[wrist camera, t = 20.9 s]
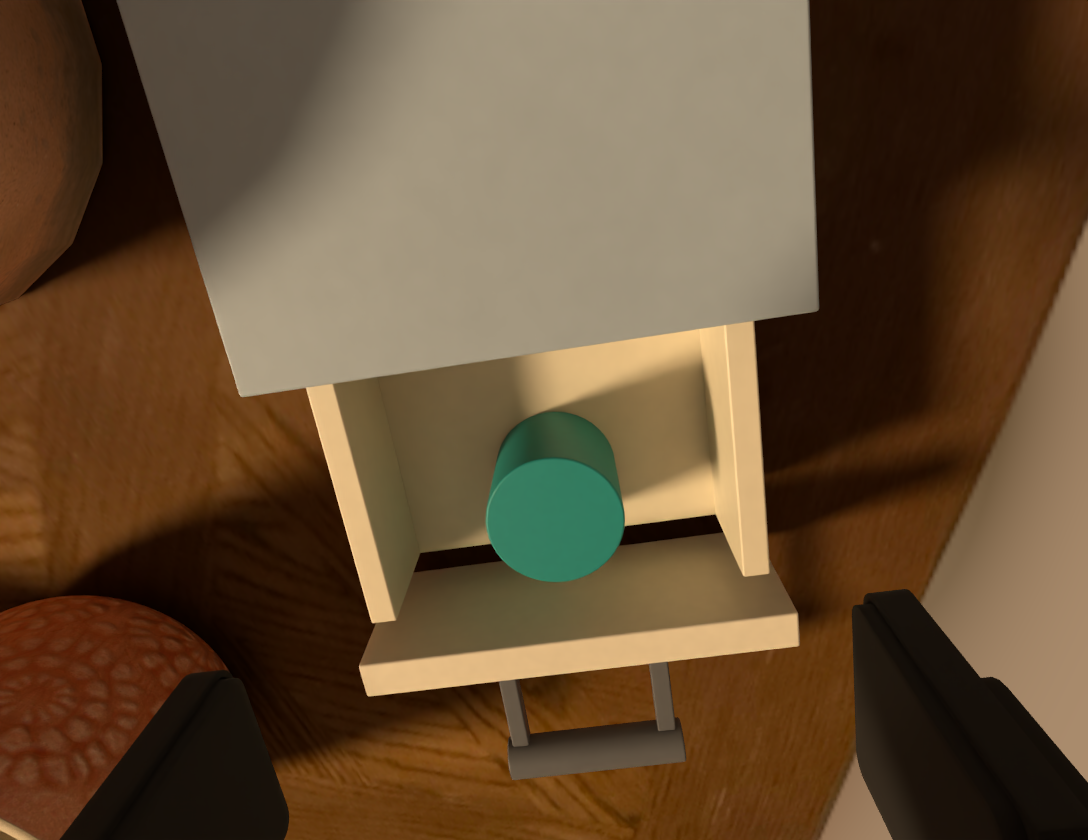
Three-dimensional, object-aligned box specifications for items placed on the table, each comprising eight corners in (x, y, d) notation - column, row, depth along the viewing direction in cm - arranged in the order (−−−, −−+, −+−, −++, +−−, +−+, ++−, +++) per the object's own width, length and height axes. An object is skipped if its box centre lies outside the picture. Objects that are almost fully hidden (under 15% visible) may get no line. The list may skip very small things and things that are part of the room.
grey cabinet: (747, 270, 24) (820, 311, 17) (324, 335, 25) (239, 398, 18) (713, -278, 19) (794, -510, 13) (191, -169, 20) (11, -331, 14)
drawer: (763, 671, 28) (807, 780, 23) (430, 710, 29) (403, 822, 24) (728, 174, 22) (777, 178, 17) (308, 243, 23) (239, 265, 18)
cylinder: (607, 402, 24) (616, 448, 20) (621, 511, 25) (633, 573, 21) (486, 420, 24) (473, 468, 20) (507, 526, 25) (498, 590, 21)
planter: (286, 808, 32) (160, 1109, 22) (8, 784, 32) (-250, 1077, 22) (278, 568, 28) (118, 801, 18) (-42, 539, 28) (-389, 757, 18)
